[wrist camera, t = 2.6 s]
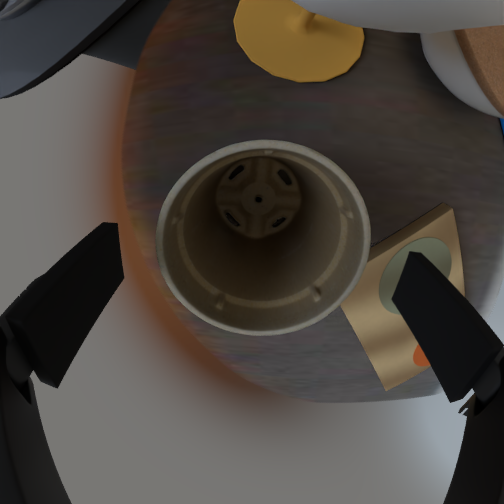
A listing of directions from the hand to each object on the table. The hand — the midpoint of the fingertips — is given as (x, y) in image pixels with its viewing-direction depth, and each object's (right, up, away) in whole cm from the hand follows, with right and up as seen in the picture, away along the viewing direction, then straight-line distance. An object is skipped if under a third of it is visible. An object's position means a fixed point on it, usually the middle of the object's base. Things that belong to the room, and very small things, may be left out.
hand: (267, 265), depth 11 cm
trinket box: (+15, +17, +2) cm, 23 cm away
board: (+16, -6, +13) cm, 22 cm away
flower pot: (0, +4, +8) cm, 9 cm away
